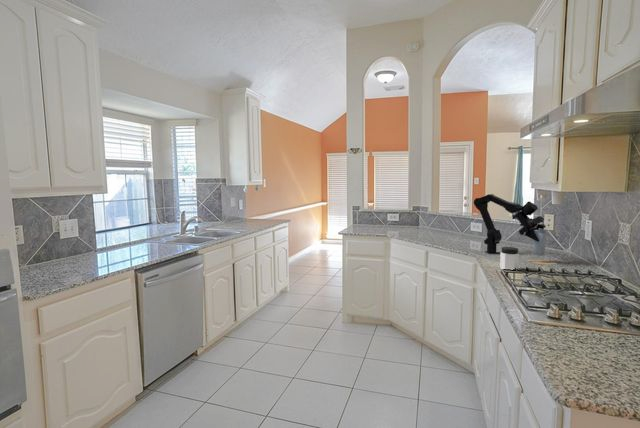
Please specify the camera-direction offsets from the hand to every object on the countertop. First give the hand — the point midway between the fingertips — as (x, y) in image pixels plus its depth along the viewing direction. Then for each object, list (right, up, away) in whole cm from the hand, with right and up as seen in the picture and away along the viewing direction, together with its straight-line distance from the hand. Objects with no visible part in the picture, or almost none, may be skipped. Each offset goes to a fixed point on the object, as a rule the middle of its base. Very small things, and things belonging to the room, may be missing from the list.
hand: (541, 240), depth 206 cm
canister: (-1, -8, +2) cm, 9 cm away
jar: (-26, -15, -12) cm, 32 cm away
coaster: (0, -13, +1) cm, 13 cm away
